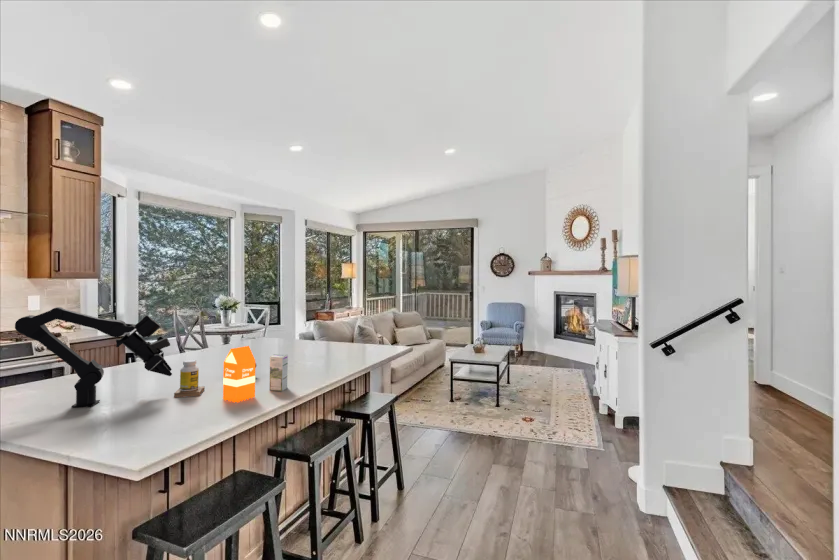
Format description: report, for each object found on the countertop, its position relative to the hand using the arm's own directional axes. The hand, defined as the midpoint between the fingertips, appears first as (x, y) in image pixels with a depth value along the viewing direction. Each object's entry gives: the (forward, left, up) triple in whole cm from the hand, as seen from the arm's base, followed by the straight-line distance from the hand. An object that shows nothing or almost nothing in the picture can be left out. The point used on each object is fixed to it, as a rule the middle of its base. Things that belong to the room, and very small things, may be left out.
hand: (170, 372), depth 170 cm
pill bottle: (+2, -6, -8) cm, 10 cm away
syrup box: (+2, -40, -9) cm, 42 cm away
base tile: (+2, -6, -9) cm, 11 cm away
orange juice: (-9, -26, -9) cm, 29 cm away
